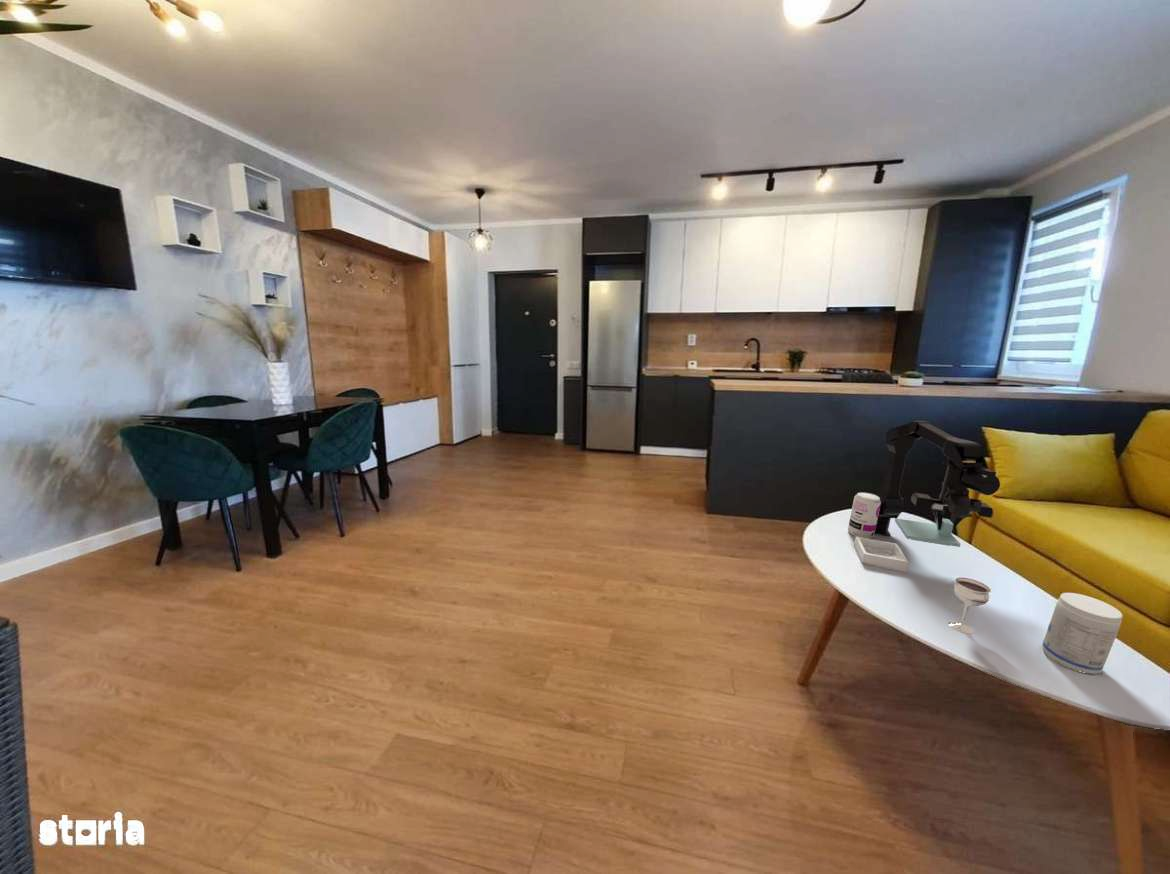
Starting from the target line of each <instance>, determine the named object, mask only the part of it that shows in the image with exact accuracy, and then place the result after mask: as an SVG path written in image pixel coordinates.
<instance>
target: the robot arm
mask: <svg viewBox="0 0 1170 874" xmlns="http://www.w3.org/2000/svg"><path fill="white" fill-rule="evenodd" d="M885 434H886V435H885V445H886V447H887V449H888V451H889V453H888V458H887V462H886V469H885V474H884V480H883V486H882V489H881V491H880V492H879V493H878V494H876V496H878V497H879V498H880V501H881V505H880V510H879V515H878V519H877V524H876V528H875V533H874V534H877V535H883V536H889V537H891V532H890V531H889V528H890V523H891V520H892V519H895V518H896V519H899V516H900V515H901V514H902V512H903V511H904V507H905V502H906V500H905V498H902V496H901V494H900V491H901V490H900V489H901V485H902V479H903V475H904V469H905V463H906V458H907V454H908V453H909V452H910V451H911V450H912V449H913V448H914V446H915V444H916V441H918V440H919V439H922V438H923V439H925V440H926V441H928V442H929V443H932V444H934V445H935V446H936V447H938V448H939V449H941V451H942V454H943V455H944V456H945V457H946V458H947V459H946V460H945V459H944V460H943V461H942V462H941V463H942V465H946V467H947V468H946V471H945V476H944V478H943V479H944V480H943V481H942V482H941V486H942V487H941V492H940V494H938V499H937V498H932V497H931V496H929V495H928V494H925V493H919V492H913V493H912V495H911V497H910V501H911V502H912V504H913V505H914V506H915V507H918V508H924V509H930V510H931V511H932V513H933V515H934V519H935V524H936V525H937V529H938V530H940V529H941V525H942V519H943V518H944V515H945V513H946V511H945V510H944V508H948V512H949V513H950V514H951V516H950V519H949V520H950V521H951V522H952V523H953V524H954V525H953V529H952V531H953V530H955V528H956V527H957V526H958V525H959V523H961V522H962V521H963V520H964V519H966V518H972V517H973V515H972V514H971V513H972V512H973V513H976V514H977V515H978V516H979V517H983V518H990V519H992V518H993V516H994V512H995V511H994V509H993V507H991V506H990V505H988V504H987V503H986V502H982V500H981V499H978V498H970V490H973V491H975V492H977V493H979V494H982V495H983V496H992V495H994V494H996V492H998V491H999V489H1000V487H1001V481H1000V479H999V477H997V476H996V475H997V472H996V471H994V470H990V469H989V466H988V462H987V460H986V458H985V455H984V453H983V450H982V446H981V444H980V443H978V442H974V441H971V440H968V439H963V438H958V437H956V436H953V435H951V434H949V433H947V432H945V431H944V430H942V429H939V427H937V426H934V425H932V424H931V423H930V422H929V421H924V420H912V421H910V422H908V423H905V424H903V425H898V426H896V427H891V428H889V429H888V430H887V431H886V433H885Z"/></svg>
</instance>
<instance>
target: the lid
mask: <svg viewBox="0 0 1170 874" xmlns="http://www.w3.org/2000/svg"><path fill="white" fill-rule="evenodd" d="M894 522H895V523H896V526H898V528H899V530H901V533H902V534H903V536H904V537H905V539H907V540H911V541H917V542H923V543H930V544H935V545H937V544H938V545H943V546H949V547H950V546H951V547H958V548H960V547H961V543H960V541H959V540H958V539H957V538H956V537H955V536H954V535H953V534H952V533H953V530H954V529H953V525H954V524H953V523H952V522H951V521H950V519H948V518H944V517H943V519H942V525H941V529H940V530H938V529H937V525H936V523H930V522H924V521H923V522H922V521H916V520H909V519H903V518H897V519H896V518H894ZM952 529H953V530H952Z"/></svg>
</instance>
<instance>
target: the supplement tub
mask: <svg viewBox="0 0 1170 874" xmlns="http://www.w3.org/2000/svg"><path fill="white" fill-rule="evenodd" d="M1055 604H1056V605H1055V606H1054V610H1053V612H1052V616H1051V618H1050V621H1049V624H1048V626H1047V627H1048V628H1047V629H1046V632H1045V635H1044V638H1043V641H1042V644H1041V648H1042V651H1043V652H1044V653H1045V655H1046V656H1047V657H1049V658H1050V659H1051V660H1052V659H1053V661H1054V662H1056V663H1057V662H1058V663H1057V664H1059V663H1060V664H1059V665H1061V664H1062V665H1061V666H1063V665H1064V667H1065V666H1066V667H1065V668H1067V667H1069V668H1068V669H1070V668H1071V669H1070V670H1072V669H1074V670H1073V671H1075V670H1077V671H1076V672H1078V671H1081V672H1080V673H1082V672H1085V673H1084V674H1086V673H1092V674H1091V675H1097V674H1096V673H1098V674H1101V672H1103V669H1104V667H1105V665H1106V662H1107V659H1108V657H1109V655H1110V652H1111V650H1112V647H1113V644H1114V642H1115V640H1116V637H1117V635H1118V632H1119V629H1120V628H1121V625H1122V620H1123V618H1124V617H1123V613H1122V612H1121V611H1120V610H1119V609H1118V608H1116V607H1115V606H1113V605H1111V604H1109V603H1107V602H1104V601H1103V600H1100V599H1097V598H1094V597H1092V596H1088V595H1086V594H1085V595H1084V594H1081V593H1076V592H1063V593H1061V594H1060V596H1059V598H1058V599H1057V601H1056V603H1055Z"/></svg>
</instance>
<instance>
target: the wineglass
mask: <svg viewBox="0 0 1170 874" xmlns="http://www.w3.org/2000/svg"><path fill="white" fill-rule="evenodd" d="M952 591H953V594H954V596H955V597H956V599H958V601H960V602H962V603H963V604H964V606H963V607H964V608H963V612H962V617H961V621H958V620H949V621H948V625H949V626H950V627H951V628H952V629H954V630H956V631H958V632H960V631H961V632H960V633H964V634H971V635H972V634H974V632H975V631H974V629H973V628H972V627H971V626H969V625H968V624H966V623H965V619H966V616H967V615H968V611H969V608H970V607H972V606H973V607H980V606H983V605H986V604H987V603H988V602H989V601H990V600H989V599H990V594H989V593H991V591H992V589H991V588H990V587H989V586H988V585H986V584H985V583H983V582H981V581H978V580H976V579H973V578H969V577H961V576H960V577H956V578H955V583H954V585H953V587H952Z"/></svg>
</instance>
